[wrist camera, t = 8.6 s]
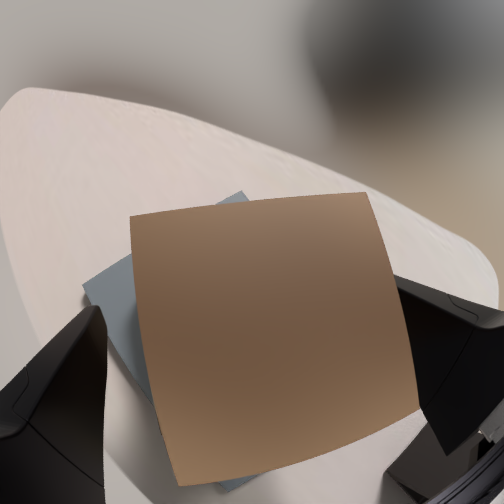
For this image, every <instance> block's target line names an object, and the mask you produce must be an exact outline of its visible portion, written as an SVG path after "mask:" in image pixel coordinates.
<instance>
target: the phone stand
mask: <svg viewBox="0 0 504 504" xmlns="http://www.w3.org/2000/svg"><path fill="white" fill-rule="evenodd" d="M483 438H484V435H483V434H480V433H478V432H477V433H476V434H475V435H474V436H473V437H471V438H470V439H469V440H468V441H467V442H465V443H464V444H463V445H462V446H460V447H459V448H458V449H457V450H455V451H454V452H453V453H451V454H450V455H449V456H446V455H445V454H444V452H443V450H442V448H441V446H440V444H439V442H438V440H437V438H436V436H435V434H434V432H433V431H432V429H431V427H430V425H429V423H427V424H426V426H425V427H424V428H423V429H422V431H421V432H420V433H419V434H418V436H417V437H416V438H415V439H414V440H413V442H412V443H411V444H410V445H409V446H408V447H407V449H406V450H405V451H404V452H403V453H402V454H401V455H400V456H399V457H398V459H397V460H396V461H395V462H394V463H393V464H392V465H391V466H390V467H389V468H388V469H387V470H386V471H387V472H388V474H389V475H390V476H391V477H392V478H393V479H394V480H395V481H396V482H397V483H398V484H399V485H400V487H401V488H402V489H403V490H404V491H405V492H407V494H408V495H409V496H410V497H411V498H412V499H413V500H414V501H415V502H416V503H417V504H423V503H425V502H426V501H427V500H429V499H430V498H432V497H433V496H435V495H436V494H437V493H439V492H440V491H442V490H443V489H444V488H446V487H447V486H448V485H450V484H451V483H452V482H453V481H455V480H456V479H457V478H458V477H460V476H461V475H462V474H463V473H465V472H466V471H467V469H468V463H469V455H470V450H471V449H472V448H473V447H474V446H476V445H477V444H478V443H479V442H480V441H481V440H482V439H483Z"/></svg>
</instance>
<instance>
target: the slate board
mask: <svg viewBox="0 0 504 504" xmlns="http://www.w3.org/2000/svg"><path fill="white" fill-rule="evenodd" d="M244 201H249V200H248V198H247V197H246V196H245V194H244V193H243V192H242V190H241V191H240V192H238V193H236V194H234V195H232V196H230V197H228V198H226V199H225V200H223V201H221V202H219V203H217V204H226V203H235V202H244ZM217 204H215V205H217ZM82 286H83V288H84V290H85V292H86V294H87V296H88V298H89V300H90V302H91V304H92V305H98V306H99V307H100V308H101V311H102V314H103V316H104V319H105V322H106V325H107V330H108V336H109V338H110V340H111V342H112V343H113V345H114V347H115V348H116V350H117V352H118V353H119V355H120V357H121V358H122V360H123V362H124V363H125V365H126V366H127V368H128V370H129V371H130V373H131V374H132V376H133V377H134V379H135V380H136V382H137V383H138V385H139V386H140V388H141V389H142V391H143V392H144V394H145V395H146V396H147V398H148V399H149V401H150V402H151V403H152V405H153V406H154V402H153V397H152V392H151V387H150V382H149V377H148V371H147V366H146V361H145V356H144V350H143V344H142V338H141V332H140V325H139V318H138V310H137V303H136V294H135V285H134V275H133V263H132V253H131V254H129V255H128V256H126V257H125V258H123V259H121V260H120V261H118V262H117V263H115V264H113V265H112V266H110V267H109V268H107V269H106V270H104V271H102V272H101V273H99V274H98V275H96V276H95V277H93V278H92V279H90V280H89V281H87V282H86V283H84V284H83V285H82ZM154 408H155V406H154ZM256 475H258V474H254V475H250V476H245V477H240V478H235V479H230V480H225V481H219V482H218V483H219V484H220V485H221V486H222V487H223V488H224V489H225V490H226V491H228V492H229V491H231V490H233V489H235V488H236V487H238V486H240V485H241V484H243V483H245V482H246V481H248V480H250V479H251V478H253V477H255V476H256Z"/></svg>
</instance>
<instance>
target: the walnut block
mask: <svg viewBox="0 0 504 504" xmlns="http://www.w3.org/2000/svg"><path fill="white" fill-rule="evenodd" d="M130 233H131V250H132V263H133V275H134V285H135V294H136V303H137V310H138V318H139V325H140V332H141V338H142V344H143V350H144V356H145V361H146V366H147V371H148V376H149V381H150V386H151V390H152V395H153V399H154V404H155V408H156V412H157V416H158V420H159V424H160V427H161V431H162V435H163V438H164V442H165V445H166V449H167V452H168V455H169V459H170V462H171V465H172V468H173V471H174V474H175V477H176V480H177V483H178V486H189V485H198V484H205V483H212V482H219V481H225V480H230V479H235V478H240V477H245V476H250V475H254V474H259V473H263V472H267V471H271V470H275V469H278V468H282V467H285V466H289V465H292V464H295V463H299V462H302V461H305V460H308V459H311V458H314V457H317V456H320V455H322V454H325V453H328V452H330V451H333V450H336V449H338V448H341V447H343V446H346V445H348V444H350V443H353V442H355V441H357V440H360V439H362V438H364V437H366V436H369V435H371V434H373V433H375V432H377V431H379V430H381V429H383V428H385V427H387V426H389V425H391V424H393V423H395V422H397V421H399V420H401V419H402V418H404V417H406V416H408V415H410V414H411V413H413V412H415V411H417V410H418V409H420V407H419V398H418V391H417V383H416V377H415V370H414V364H413V358H412V353H411V347H410V342H409V337H408V332H407V328H406V323H405V318H404V314H403V310H402V306H401V302H400V298H399V294H398V290H397V286H396V282H395V279H394V275H393V272H392V268H391V265H390V261H389V258H388V255H387V251H386V248H385V245H384V242H383V239H382V236H381V233H380V230H379V227H378V224H377V221H376V218H375V215H374V213H373V210H372V207H371V204H370V202H369V199H368V196H367V194H366V192H358V193H341V194H325V195H311V196H298V197H286V198H275V199H264V200H254V201H244V202H235V203H226V204H217V205H209V206H201V207H193V208H185V209H178V210H170V211H163V212H156V213H150V214H143V215H136V216H130Z"/></svg>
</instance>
